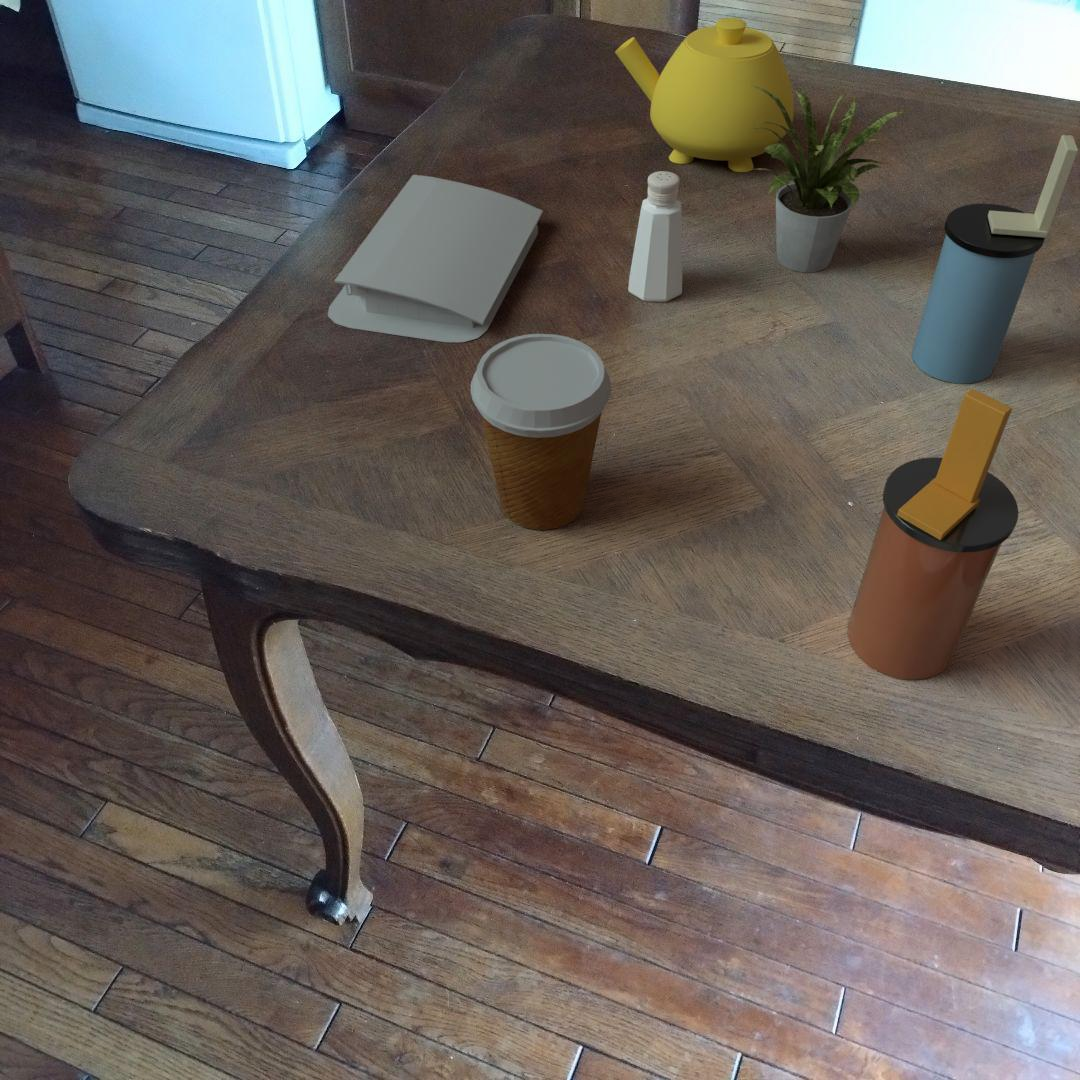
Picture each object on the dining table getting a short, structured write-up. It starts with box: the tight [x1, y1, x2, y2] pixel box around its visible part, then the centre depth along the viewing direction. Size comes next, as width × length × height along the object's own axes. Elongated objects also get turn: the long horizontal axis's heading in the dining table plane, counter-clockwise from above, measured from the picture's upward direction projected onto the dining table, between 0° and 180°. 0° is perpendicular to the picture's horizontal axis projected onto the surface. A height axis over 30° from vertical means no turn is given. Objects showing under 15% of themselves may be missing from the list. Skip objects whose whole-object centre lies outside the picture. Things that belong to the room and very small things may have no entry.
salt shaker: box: [627, 170, 683, 303], centre depth 96 cm, size 5×5×11 cm
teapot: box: [614, 17, 795, 173], centre depth 115 cm, size 20×16×14 cm
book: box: [327, 174, 544, 344], centre depth 101 cm, size 15×23×4 cm, turn 165°
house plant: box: [751, 85, 908, 273], centre depth 97 cm, size 14×14×16 cm
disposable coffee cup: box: [470, 333, 612, 531], centre depth 75 cm, size 10×10×12 cm
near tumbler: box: [847, 456, 1019, 681], centre depth 65 cm, size 7×7×13 cm
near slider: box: [897, 388, 1013, 540], centre depth 58 cm, size 4×3×7 cm
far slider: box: [988, 134, 1079, 239], centre depth 80 cm, size 4×3×7 cm
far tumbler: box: [911, 203, 1046, 385], centre depth 87 cm, size 7×7×13 cm
